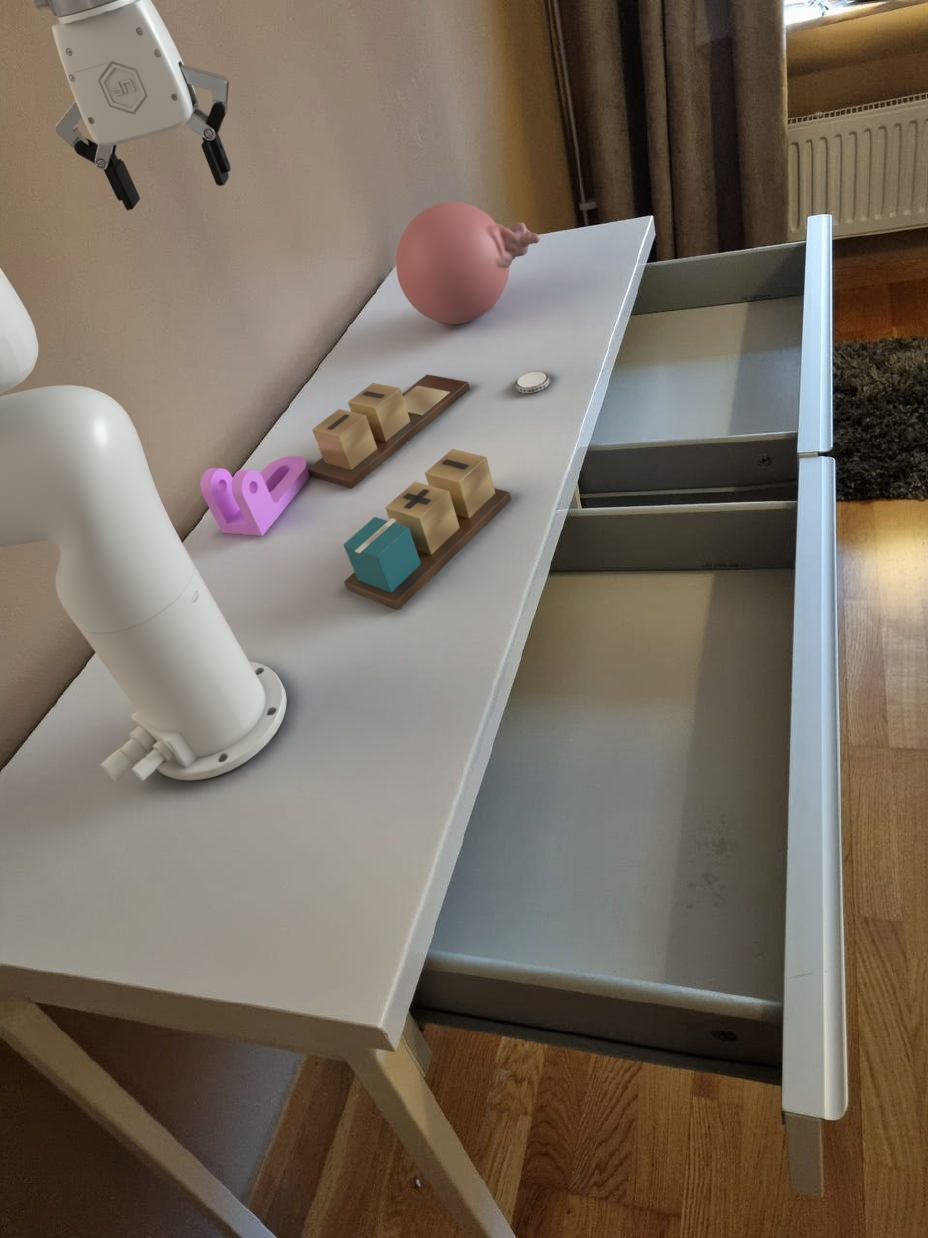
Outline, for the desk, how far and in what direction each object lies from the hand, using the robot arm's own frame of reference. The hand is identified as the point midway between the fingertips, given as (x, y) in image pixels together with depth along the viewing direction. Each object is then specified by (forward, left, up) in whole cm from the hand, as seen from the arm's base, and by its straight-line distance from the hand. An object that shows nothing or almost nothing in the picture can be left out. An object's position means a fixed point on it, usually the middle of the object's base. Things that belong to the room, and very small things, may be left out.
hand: (178, 193), depth 89 cm
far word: (+8, -11, -31) cm, 34 cm away
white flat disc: (+22, -22, -31) cm, 44 cm away
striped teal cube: (-13, -30, -30) cm, 44 cm away
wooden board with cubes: (-7, -30, -31) cm, 43 cm away
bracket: (-8, -6, -31) cm, 32 cm away
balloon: (+36, -3, -31) cm, 47 cm away
